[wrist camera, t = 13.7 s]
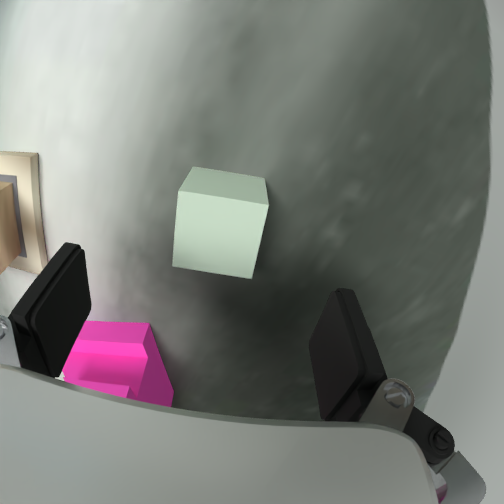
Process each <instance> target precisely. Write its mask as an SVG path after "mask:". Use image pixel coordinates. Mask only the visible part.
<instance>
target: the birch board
mask: <svg viewBox="0 0 504 504" xmlns="http://www.w3.org/2000/svg"><path fill="white" fill-rule="evenodd" d="M0 181H2V182H11V183H12V185H13V196H14V206H15V214H16V222H17V229H18V235H19V241H20V247H21V253H20V254H19V255H18V256H17V257H16V258H15V259H14V260H13V261H12V262H11V264H10V265H9V267H13V268H16V269H20V270H24V271H28V272H31V273H35V274H40V273H41V271H42V270H43V269H44V268H45V266H46V265H47V264H48V261H47V255H46V248H45V241H44V234H43V226H42V216H41V206H40V194H39V177H38V153H27V152H6V151H0Z"/></svg>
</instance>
